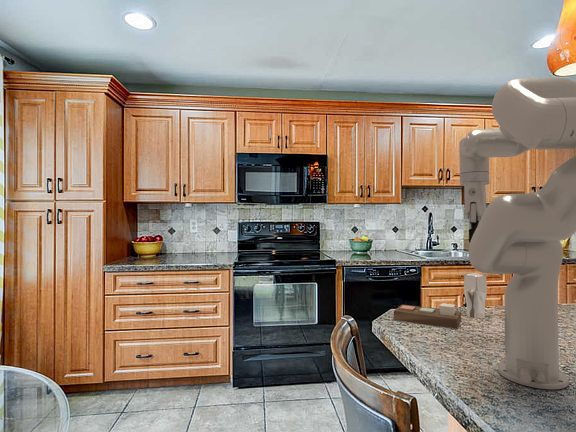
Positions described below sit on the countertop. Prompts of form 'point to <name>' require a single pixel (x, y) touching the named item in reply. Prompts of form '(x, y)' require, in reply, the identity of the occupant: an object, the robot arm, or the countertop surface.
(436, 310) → the console
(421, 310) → the key sage
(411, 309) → the key terracotta
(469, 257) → the robot arm
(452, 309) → the key cream
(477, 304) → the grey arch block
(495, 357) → the countertop surface
